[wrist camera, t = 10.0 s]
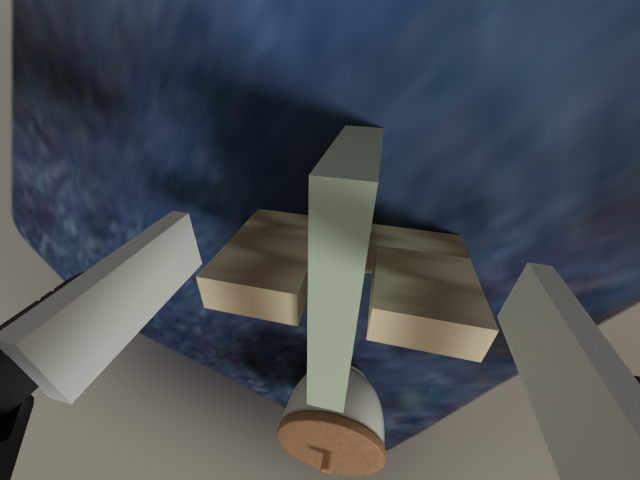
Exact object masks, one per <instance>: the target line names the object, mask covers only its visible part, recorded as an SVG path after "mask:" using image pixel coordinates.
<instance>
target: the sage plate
mask: <svg viewBox="0 0 640 480" xmlns="http://www.w3.org/2000/svg"><path fill="white" fill-rule="evenodd" d="M383 131H384V128H376V127H362V126H348V125H345V127H344V128H343V129H342V131H341V132H340V134H339V135H338V136H337V138H336V139H335V140H334V142H333V143H332V144H331V146H330V147H329V148H328V150H327V151H326V153H325V154H324V155H323V157H322V158H321V159H320V161H319V162H318V163H317V165H316V166H315V167H314V169H313V170H312V172H311V173H310V174H309V210H308V319H307V404H308V405H312V406H316V407H320V408H324V409H328V410H333V411H337V412H341V413H343V412H344V406H345V399H346V392H347V386H348V379H349V372H350V366H351V359H352V353H353V346H354V339H355V333H356V326H357V319H358V313H359V306H360V299H361V293H362V286H363V279H364V273H365V266H366V259H367V253H368V246H369V239H370V233H371V226H372V220H373V213H374V206H375V200H376V193H377V186H378V178H379V169H380V160H381V150H382V141H383Z"/></svg>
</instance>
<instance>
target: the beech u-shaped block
mask: <svg viewBox="0 0 640 480" xmlns="http://www.w3.org/2000/svg"><path fill="white" fill-rule="evenodd" d="M365 272H367V273H372V284H371V295H370V306H369V318H368V329H367V340H370V341H375V342H380V343H385V344H390V345H395V346H400V347H405V348H410V349H415V350H421V351H426V352H431V353H436V354H441V355H446V356H451V357H456V358H461V359H466V360H471V361H476V362H481V361H482V360H483V358H484V356H485V354H486V353H487V351H488V349H489V347H490V346H491V344H492V342H493V340H494V339H495V337H496V335H497V333H498V332H499V330H498V327H497V325H496V322H495V320H494V318H493V315H492V313H491V310H490V308H489V305H488V303H487V300H486V298H485V295H484V293H483V290H482V288H481V285H480V283H479V280H478V278H477V275H476V273H475V270H474V268H473V265H472V263H471V261H470V258H469V256H468V253H467V251H466V248H465V246H464V243H463V241H462V238H461V236H460V235H455V234H447V233H439V232H432V231H424V230H417V229H409V228H401V227H394V226H386V225H378V224H372V226H371V233H370V239H369V246H368V253H367V259H366V266H365ZM196 279H197V282H198V286H199V290H200V293H201V297H202V301H203V304H204V308H208V309H213V310H218V311H224V312H229V313H234V314H239V315H244V316H249V317H254V318H259V319H264V320H269V321H274V322H279V323H284V324H289V325H294V326H298V324H299V321H300V319H301V316H302V313H303V310H304V307H305V305H306V302H307V299H308V215H302V214H294V213H286V212H279V211H271V210H263V209H258V210H257V211H256V212H255V213H254V214H253V215H252V216H251V217H250V218H249V219H248V221H247V222H246V223H245V224H244V225H243V226H242V227H241V228H240V229H239V230H238V231H237V233H236V234H235V235H234V236H233V237H232V238H231V239H230V240H229V241H228V242H227V243H226V244H225V246H224V247H223V248H222V249H221V250H220V251H219V252H218V253H217V254H216V255H215V256H214V258H213V259H212V260H211V261H210V262H209V263H208V264H207V265H206V266H205V267H204V268H203V270H202V271H201V272H200V273H199V274H198V275H197V276H196Z"/></svg>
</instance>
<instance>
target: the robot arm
mask: <svg viewBox="0 0 640 480" xmlns="http://www.w3.org/2000/svg"><path fill="white" fill-rule="evenodd" d="M201 264H202V262H201V258H200V254H199V251H198V247H197V243H196V239H195V236H194V232H193V228H192V224H191V221H190V217H189V213H184V212H177V211H172V212H170V213H169V214H167V215H166V216H165V217H163V218H162V219H160V220H159V221H157V222H156V223H155V224H153V225H152V226H150V227H149V228H147V229H146V230H144V231H143V232H142V233H140V234H139V235H137V236H136V237H134V238H133V239H132V240H130V241H129V242H127V243H126V244H124V245H123V246H121V247H120V248H119V249H117V250H116V251H114V252H113V253H111V254H110V255H109V256H107V257H106V258H104V259H103V260H101V261H100V262H98V263H97V264H96V265H94V266H93V267H91V268H90V269H88V270H86V271H84V272H82V273H80V274H78V275H75V276H73V277H71V278H69V279H68V280H66V281H65V282H63V283H62V284H60V285H59V286H58V287H56V288H55V289H54V291H50V292H49V293H47V294H46V295H44V296H43V297H41V300H40V301H36V302H34V303H33V304H31V305H30V306H28V307H27V308H25V309H24V310H22V311H21V312H20V313H18V314H17V315H15V316H14V317H12V318H11V319H9V320H8V321H6V322H5V323H3V324H2V325H0V480H10V479H11V476H12V472H13V469H14V466H15V463H16V459H17V456H18V453H19V450H20V447H21V443H22V440H23V437H24V434H25V430H26V427H27V424H28V421H29V417H30V414H31V411H32V408H33V404H34V403H33V402H34V397H33V396H32V395H31V393H32V392H33V391H34V390H36V389H37V388H38V387H39V388H40V389H41V390H42V391H43V392H44V393H45V394H46V395H47V396H48V397H50V398H52V399H55V400H59V401H62V402H65V403H69V404H72V403H73V402H74V401H75V400H76V398H78V396H79V395H80V394H81V393H82V392H83V391H84V390H85V389H86V388H87V387H88V386H89V384H91V382H92V381H93V380H94V379H95V378H96V377H97V376H98V375H99V374H100V373H101V372H102V371H103V370H104V368H105V367H106V366H107V365H108V364H109V363H110V362H111V361H112V360H113V359H114V358H115V357H116V356H117V355H118V354H119V352H120V351H121V350H122V349H123V348H124V347H125V346H126V345H127V344H128V343H129V341H131V339H132V338H133V337H134V336H135V335H136V334H137V333H138V332H139V331H140V330H141V329H142V328H143V327H144V326H145V325H146V323H147V322H148V321H149V320H150V319H151V318H152V317H153V316H154V315H155V314H156V313H157V312H158V311H159V309H160V308H161V307H162V306H163V305H164V304H165V303H166V302H167V301H168V300H169V299H170V298H171V297H172V296H173V294H174V293H175V292H176V291H177V290H178V289H179V288H180V287H181V286H182V285H183V284H184V283H185V282H186V280H187V279H188V278H189V277H190V276H191V275H192V274H193V273H194V272H195V271H196V270H197V269H198V268H199V267H200V265H201ZM497 317H498V320H499V322H500V325H501V328H502V330H503V333H504V335H505V338H506V340H507V343H508V346H509V348H510V351H511V353H512V356H513V359H514V361H515V364H516V366H517V369H518V371H519V374H520V377H521V379H522V382H523V384H524V387H525V389H526V392H527V394H528V397H529V400H530V402H531V405H532V408H533V410H534V413H535V415H536V418H537V420H538V423H539V426H540V428H541V431H542V433H543V436H544V438H545V441H546V444H547V446H548V449H549V451H550V454H551V457H552V459H553V462H554V464H555V467H556V469H557V472H558V474H559V477H560V480H640V377H638V376H634V375H633V374H632V373H631V372H630V370H629V369H628V367H627V366H626V365H625V363H624V362H623V361H622V359H621V358H620V357H619V355H618V354H617V353H616V351H615V350H614V349H613V347H612V346H611V345H610V343H609V342H608V340H607V339H606V338H605V337H604V335H603V334H602V333H601V331H600V330H599V328H598V327H597V326H596V324H595V323H594V322H593V320H592V319H591V318H590V316H589V315H588V313H587V312H586V311H585V309H584V308H583V307H582V305H581V304H580V303H579V301H578V300H577V299H576V297H575V296H574V295H573V293H572V292H571V291H570V289H569V288H568V287H567V285H566V284H565V282H564V281H563V280H562V278H561V277H560V276H559V274H558V273H557V272H556V270H555V269H554V268H553V266H548V265H541V264H534V263H527V265H526V266H525V268H524V270H523V272H522V273H521V275H520V277H519V279H518V280H517V282H516V284H515V286H514V288H513V289H512V291H511V293H510V295H509V296H508V298H507V300H506V302H505V303H504V305H503V307H502V309H501V310H500V312H499V314H498V316H497Z"/></svg>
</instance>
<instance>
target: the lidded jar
mask: <svg viewBox="0 0 640 480" xmlns="http://www.w3.org/2000/svg"><path fill="white" fill-rule="evenodd" d="M277 436H278V441H279V442H280V444H281V446H282V447H283V448H284V449H285V450H286V451H287V452H288V453H289V454H290V455H292V456H293V457H294V458H296V459H298V460H299V461H301V462H303V463H305V464H307V465H309V466H311V467H314V468H316V469H319V470H320V471H322V472H323V473H326V474H331V473H333V474H338V475H345V476H365V475H370V474H374V473H376V472H378V471H379V470H380V469H382V467H383V466H384V464H385V446H384V421H383V413H382V408H381V404H380V401H379V398H378V396H377V394H376V392H375V390H374V388H373V387H372V385H371V384H370V383H369V381H368V380H367V379H366V378H365V376H364V374H363V373H362V372H361V371H360V370H359V369H357V368H356V367H354V366H352V365H351V366H350V372H349V379H348V386H347V392H346V399H345V406H344V412H343V413H341V412H337V411H333V410H328V409H324V408H320V407H316V406H312V405H308V404H307V374H306V375H305V376H304V377H303V378H302V379H301V380H300V381H299V383H298V384H297V385H296V387H295V389H294V391H293V392H292V395H291V397H290V399H289V401H288V404H287V407H286V409H285V412H284V416H283V419H282V420H281V422H280V425H279V428H278V431H277Z"/></svg>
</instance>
